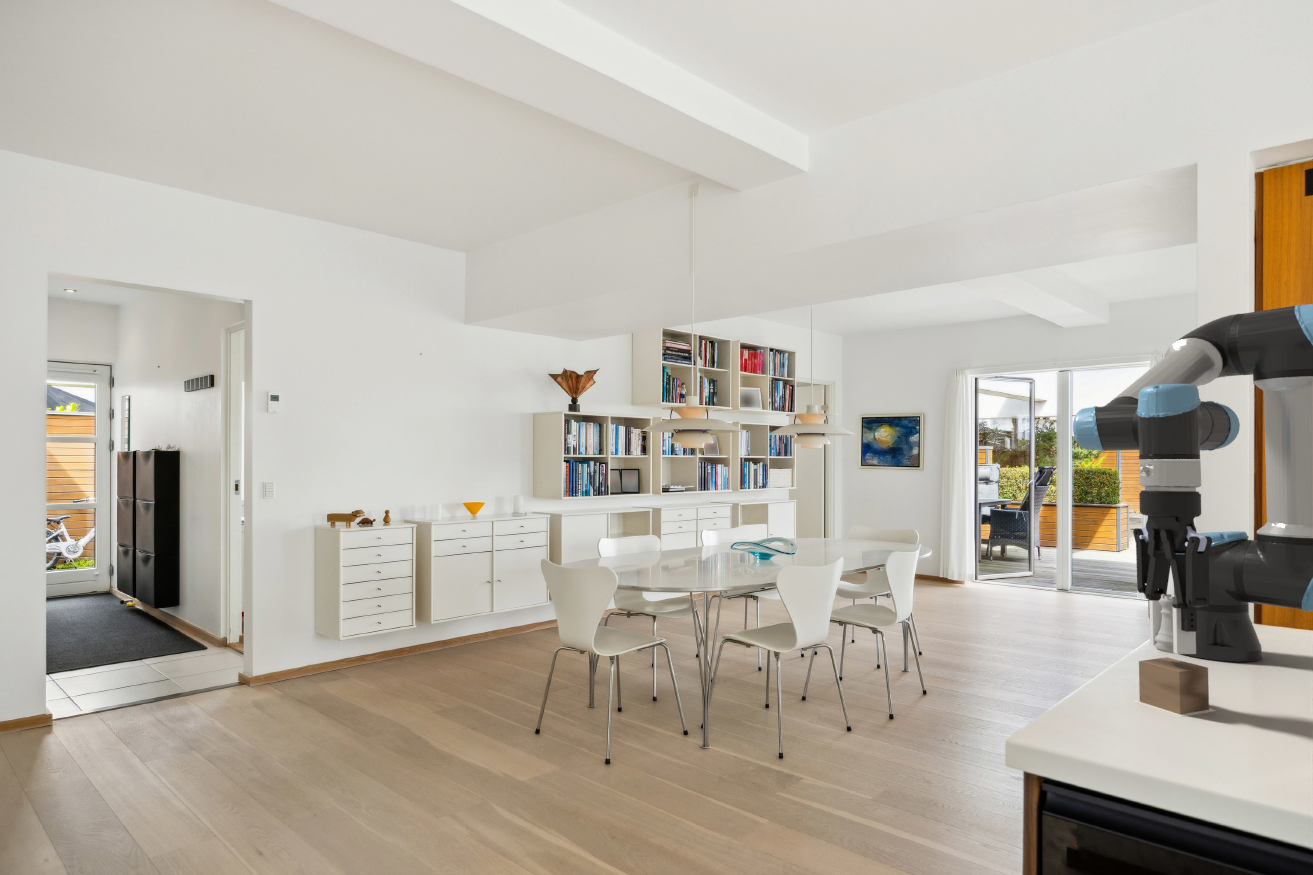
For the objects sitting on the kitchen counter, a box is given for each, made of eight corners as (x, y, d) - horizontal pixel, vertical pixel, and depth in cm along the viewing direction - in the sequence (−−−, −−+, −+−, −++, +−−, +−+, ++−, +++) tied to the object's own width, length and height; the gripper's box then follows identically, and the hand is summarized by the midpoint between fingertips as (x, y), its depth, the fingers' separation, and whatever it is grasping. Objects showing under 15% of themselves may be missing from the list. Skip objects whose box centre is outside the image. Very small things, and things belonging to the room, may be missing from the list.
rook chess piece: (1192, 656, 107) (1191, 599, 107) (1154, 651, 109) (1153, 596, 110) (1189, 649, 111) (1188, 594, 111) (1153, 645, 113) (1152, 591, 113)
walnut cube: (1167, 697, 114) (1167, 657, 114) (1209, 709, 108) (1208, 667, 108) (1139, 701, 112) (1138, 660, 112) (1180, 714, 106) (1179, 671, 106)
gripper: (1108, 487, 119) (1110, 634, 119) (1186, 491, 102) (1189, 664, 101) (1155, 487, 119) (1157, 634, 119) (1241, 491, 102) (1244, 664, 101)
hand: (1172, 648), depth 110 cm, fingers closed on rook chess piece, 4 cm apart
